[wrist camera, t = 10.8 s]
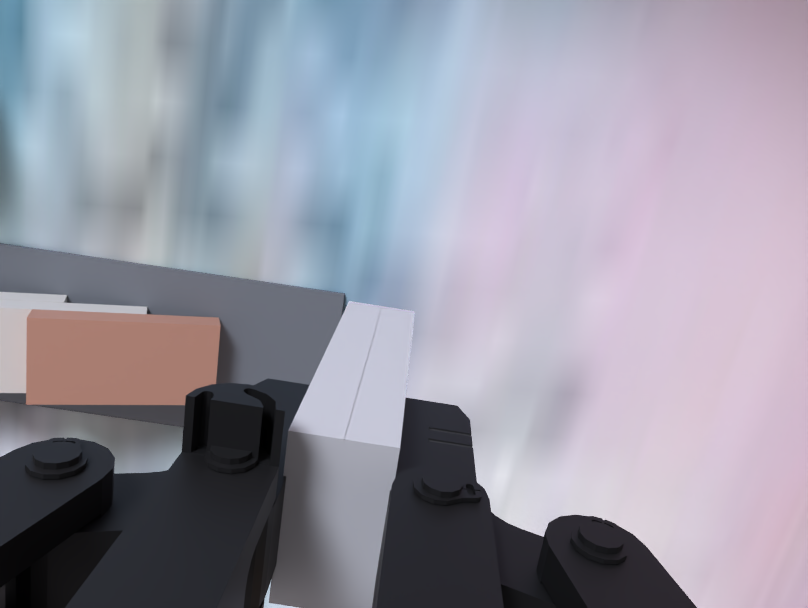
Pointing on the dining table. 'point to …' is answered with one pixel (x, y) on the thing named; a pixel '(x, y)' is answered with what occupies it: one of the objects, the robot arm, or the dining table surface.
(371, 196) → the dining table surface
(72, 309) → the domino
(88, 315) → the domino
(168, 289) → the mat
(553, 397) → the dining table surface
